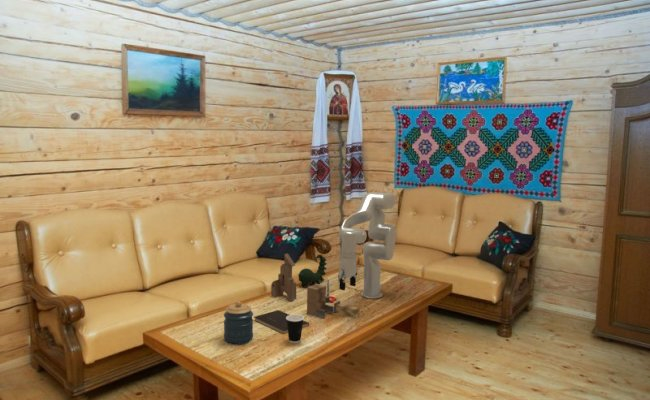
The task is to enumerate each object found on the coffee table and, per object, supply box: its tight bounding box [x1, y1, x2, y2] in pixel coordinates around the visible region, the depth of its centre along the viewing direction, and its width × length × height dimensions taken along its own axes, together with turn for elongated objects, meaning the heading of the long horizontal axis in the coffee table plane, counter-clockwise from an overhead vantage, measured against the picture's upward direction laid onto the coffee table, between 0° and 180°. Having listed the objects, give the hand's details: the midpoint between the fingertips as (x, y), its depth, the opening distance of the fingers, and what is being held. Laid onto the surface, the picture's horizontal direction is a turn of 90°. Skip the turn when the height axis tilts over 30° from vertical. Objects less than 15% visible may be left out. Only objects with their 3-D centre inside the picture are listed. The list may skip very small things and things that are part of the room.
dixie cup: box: [286, 314, 305, 344], centre depth 222 cm, size 8×8×11 cm
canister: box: [223, 300, 254, 346], centre depth 223 cm, size 13×13×18 cm
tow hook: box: [326, 278, 337, 303], centre depth 280 cm, size 8×13×9 cm
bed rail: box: [333, 300, 360, 319], centre depth 258 cm, size 13×4×5 cm, turn 54°
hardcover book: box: [253, 309, 310, 334], centre depth 245 cm, size 16×23×2 cm
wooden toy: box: [270, 253, 297, 302], centre depth 281 cm, size 16×7×25 cm, turn 52°
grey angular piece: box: [306, 283, 334, 319], centre depth 257 cm, size 8×11×14 cm
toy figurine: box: [297, 254, 327, 288], centre depth 307 cm, size 9×19×25 cm
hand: (347, 287), depth 256 cm, fingers open, 9 cm apart
